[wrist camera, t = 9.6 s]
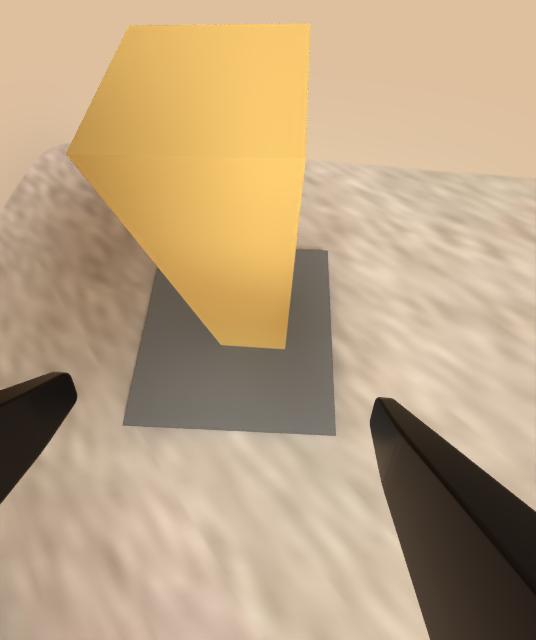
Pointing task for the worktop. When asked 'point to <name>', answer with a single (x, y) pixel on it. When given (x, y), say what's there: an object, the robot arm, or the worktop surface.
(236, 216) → the ochre post
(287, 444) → the worktop surface
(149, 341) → the charcoal mat
